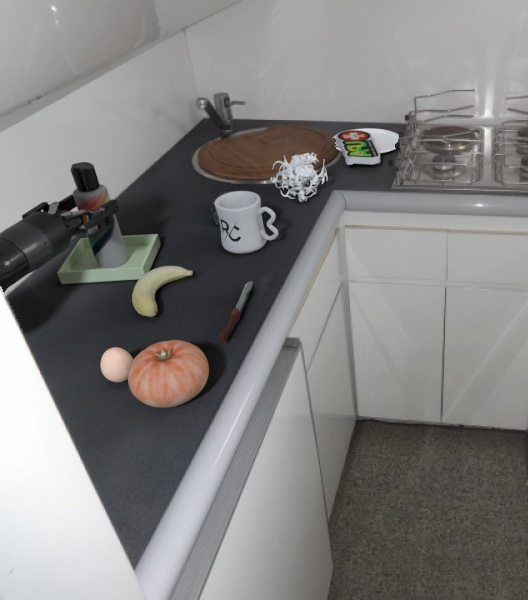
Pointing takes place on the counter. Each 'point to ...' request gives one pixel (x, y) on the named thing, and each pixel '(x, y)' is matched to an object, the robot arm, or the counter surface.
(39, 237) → the robot arm
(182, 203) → the counter surface
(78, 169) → the lotion bottle
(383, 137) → the plate
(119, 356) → the egg
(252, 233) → the mug
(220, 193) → the reflex sight
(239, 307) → the knife
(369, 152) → the sign
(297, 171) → the figurine
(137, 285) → the fruit
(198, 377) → the tomato
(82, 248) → the green tray
